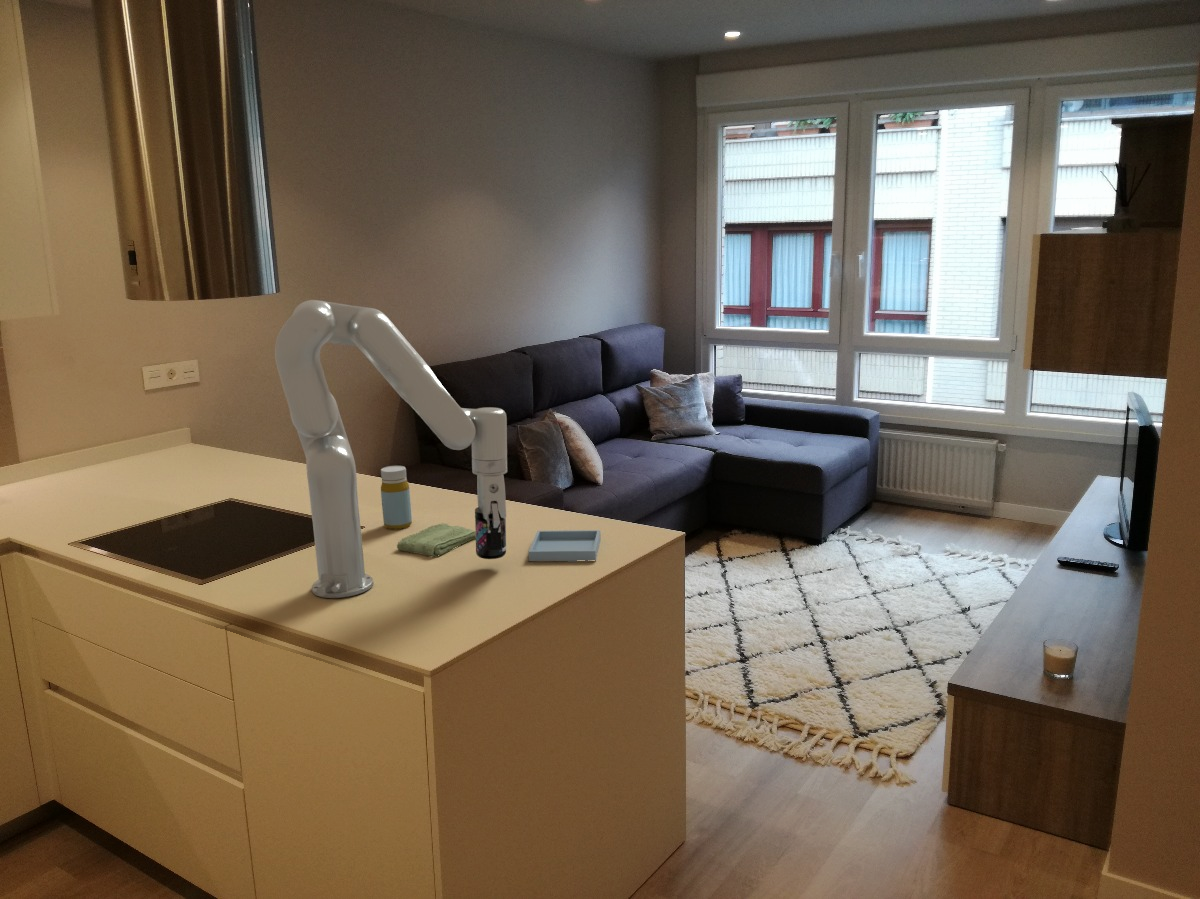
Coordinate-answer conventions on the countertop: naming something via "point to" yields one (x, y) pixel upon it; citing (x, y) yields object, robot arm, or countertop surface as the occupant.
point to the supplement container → (481, 537)
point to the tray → (565, 545)
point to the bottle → (395, 498)
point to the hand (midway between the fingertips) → (490, 543)
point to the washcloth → (436, 539)
